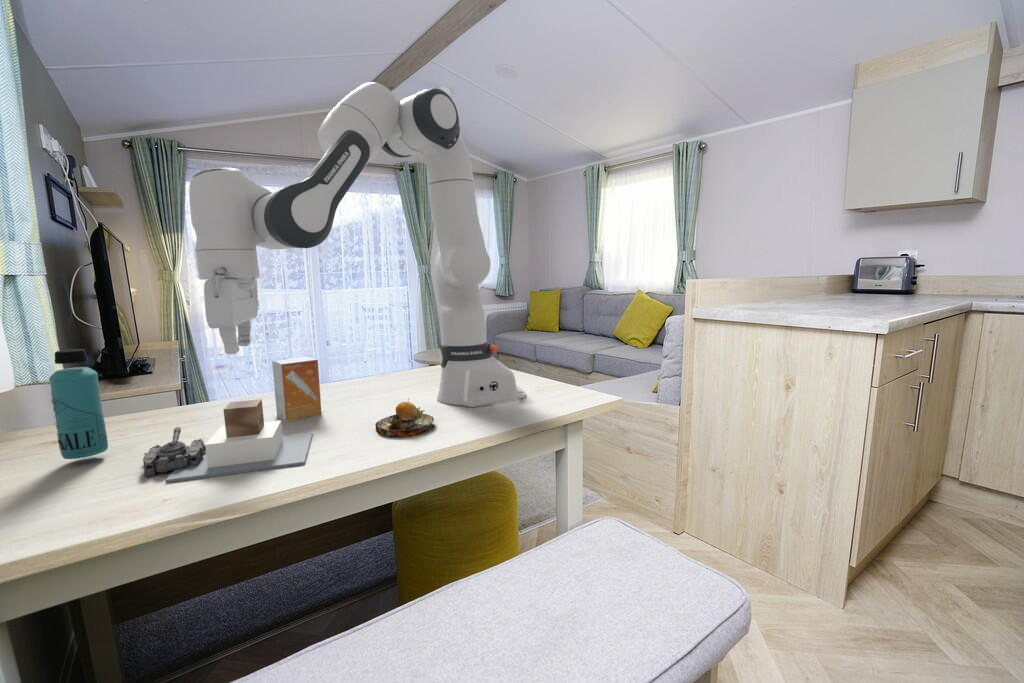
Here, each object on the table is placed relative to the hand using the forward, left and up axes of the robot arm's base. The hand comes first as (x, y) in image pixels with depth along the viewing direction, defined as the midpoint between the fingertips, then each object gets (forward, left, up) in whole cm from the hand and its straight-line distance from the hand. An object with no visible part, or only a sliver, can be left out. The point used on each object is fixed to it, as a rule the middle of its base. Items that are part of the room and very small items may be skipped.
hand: (239, 349), depth 81 cm
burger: (-28, -5, -20) cm, 35 cm away
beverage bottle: (+27, -8, -20) cm, 35 cm away
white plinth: (0, 0, -19) cm, 19 cm away
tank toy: (+12, -1, -20) cm, 23 cm away
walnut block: (0, 0, -15) cm, 15 cm away
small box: (-6, -24, -20) cm, 32 cm away
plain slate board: (0, 0, -19) cm, 19 cm away
